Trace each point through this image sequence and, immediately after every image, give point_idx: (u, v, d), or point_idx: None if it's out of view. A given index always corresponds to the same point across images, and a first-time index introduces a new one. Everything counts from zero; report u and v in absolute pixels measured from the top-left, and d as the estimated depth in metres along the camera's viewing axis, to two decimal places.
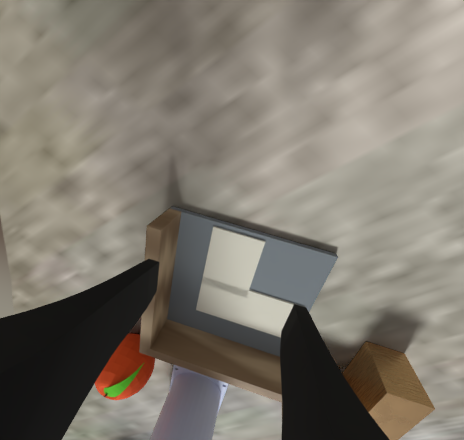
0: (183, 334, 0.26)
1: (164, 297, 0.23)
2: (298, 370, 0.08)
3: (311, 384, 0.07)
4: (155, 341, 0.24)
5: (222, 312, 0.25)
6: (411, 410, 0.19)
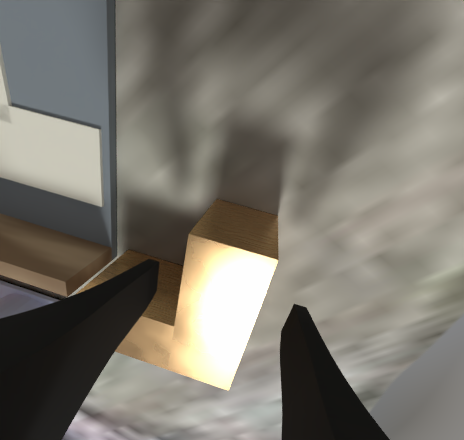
0: None
1: None
2: (298, 370, 0.08)
3: (311, 384, 0.07)
4: None
5: None
6: (241, 273, 0.10)
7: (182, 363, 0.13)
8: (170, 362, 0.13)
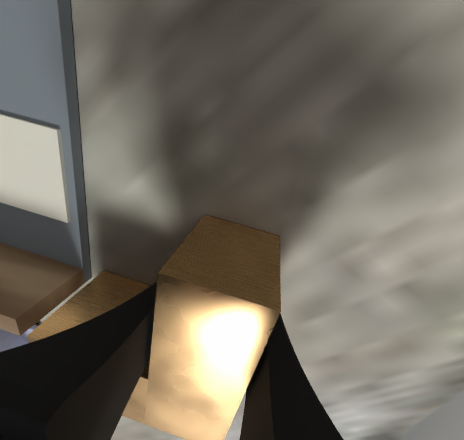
0: None
1: None
2: None
3: (265, 368, 0.07)
4: None
5: None
6: (230, 324, 0.07)
7: (161, 419, 0.11)
8: (146, 417, 0.11)
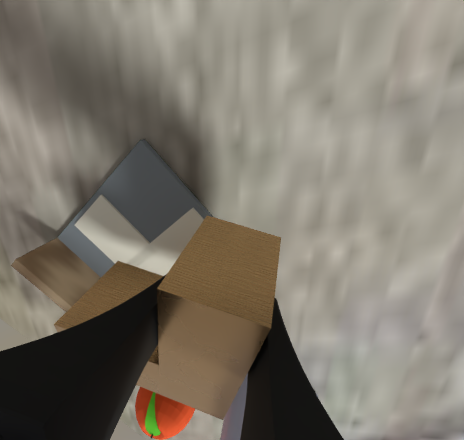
0: None
1: None
2: (259, 357, 0.08)
3: (265, 368, 0.07)
4: None
5: None
6: (226, 334, 0.08)
7: (173, 393, 0.12)
8: (161, 390, 0.13)
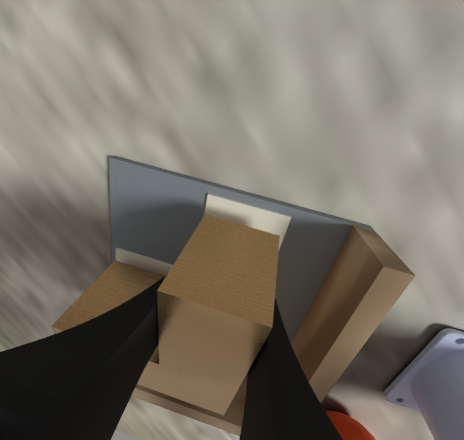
0: None
1: None
2: (259, 357, 0.08)
3: (265, 368, 0.07)
4: None
5: None
6: (227, 333, 0.08)
7: (174, 390, 0.12)
8: (161, 388, 0.13)
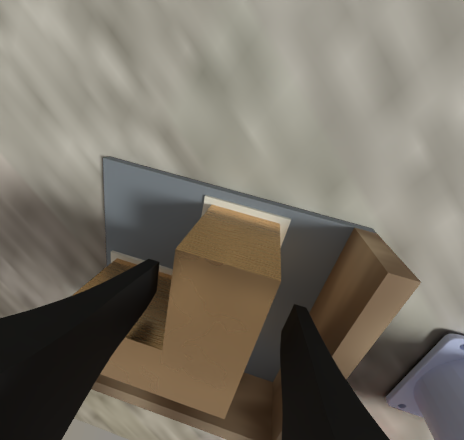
0: None
1: None
2: (298, 370, 0.08)
3: (311, 384, 0.07)
4: (272, 427, 0.15)
5: None
6: (237, 295, 0.08)
7: (173, 389, 0.12)
8: (159, 387, 0.12)
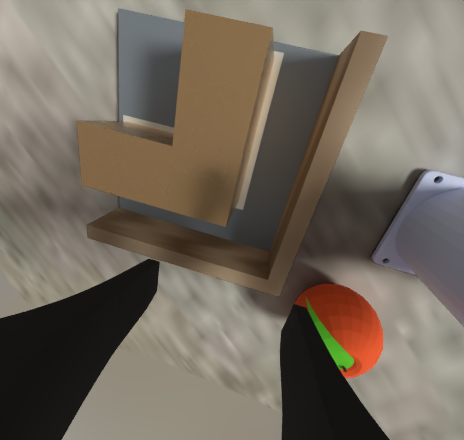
0: (278, 233, 0.18)
1: (208, 244, 0.19)
2: (298, 370, 0.08)
3: (311, 384, 0.07)
4: (268, 271, 0.17)
5: None
6: (237, 54, 0.10)
7: (181, 197, 0.14)
8: (169, 198, 0.14)
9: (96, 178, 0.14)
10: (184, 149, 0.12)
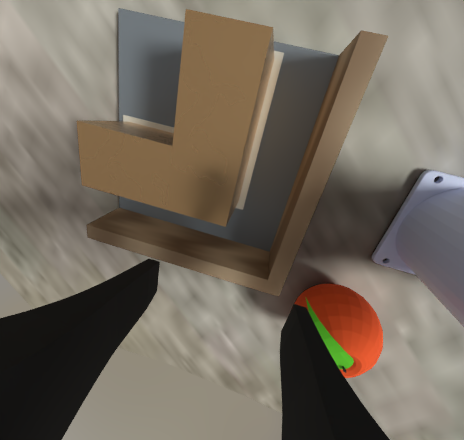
0: (278, 233, 0.18)
1: (208, 244, 0.19)
2: (298, 370, 0.08)
3: (311, 384, 0.07)
4: (268, 271, 0.17)
5: None
6: (237, 54, 0.10)
7: (181, 197, 0.14)
8: (169, 198, 0.14)
9: (96, 178, 0.14)
10: (184, 149, 0.12)
